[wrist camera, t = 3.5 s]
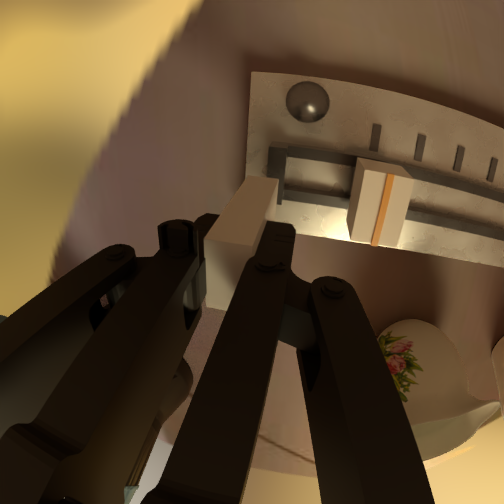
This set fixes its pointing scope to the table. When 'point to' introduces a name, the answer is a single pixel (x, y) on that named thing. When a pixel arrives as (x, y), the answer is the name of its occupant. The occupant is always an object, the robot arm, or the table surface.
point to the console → (379, 149)
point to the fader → (378, 202)
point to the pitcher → (433, 386)
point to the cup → (499, 369)
